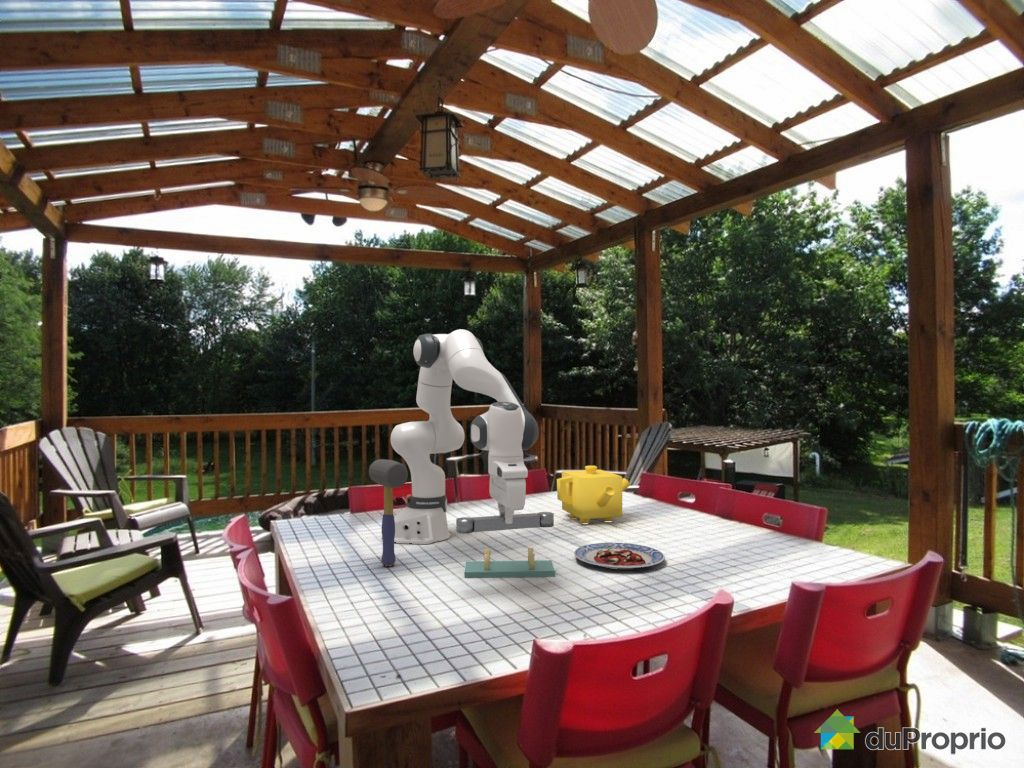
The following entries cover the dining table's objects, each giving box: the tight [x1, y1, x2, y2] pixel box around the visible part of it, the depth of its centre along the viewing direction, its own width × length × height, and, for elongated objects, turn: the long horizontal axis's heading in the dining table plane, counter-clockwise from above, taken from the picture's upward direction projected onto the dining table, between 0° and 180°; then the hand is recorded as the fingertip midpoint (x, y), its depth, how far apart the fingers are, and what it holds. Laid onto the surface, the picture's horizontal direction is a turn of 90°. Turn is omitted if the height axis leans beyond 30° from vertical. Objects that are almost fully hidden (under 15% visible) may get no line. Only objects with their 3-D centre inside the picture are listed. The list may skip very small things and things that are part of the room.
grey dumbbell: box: [455, 511, 555, 535], centre depth 155 cm, size 25×4×3 cm, turn 107°
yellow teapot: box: [556, 465, 631, 524], centre depth 233 cm, size 35×29×20 cm
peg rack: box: [463, 547, 556, 579], centre depth 168 cm, size 24×10×6 cm, turn 92°
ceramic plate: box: [573, 542, 666, 570], centre depth 178 cm, size 26×26×3 cm
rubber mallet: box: [368, 458, 409, 567], centre depth 174 cm, size 12×8×30 cm, turn 37°
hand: (505, 521), depth 155 cm, fingers closed on grey dumbbell, 3 cm apart
